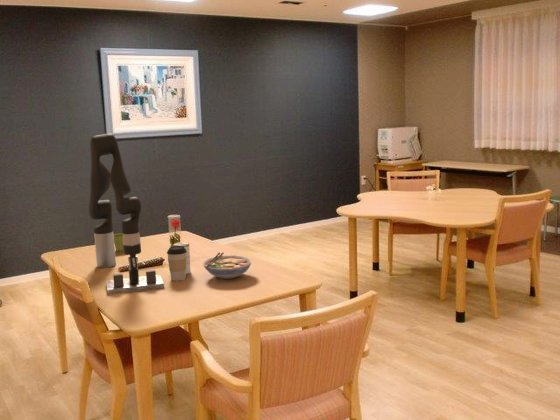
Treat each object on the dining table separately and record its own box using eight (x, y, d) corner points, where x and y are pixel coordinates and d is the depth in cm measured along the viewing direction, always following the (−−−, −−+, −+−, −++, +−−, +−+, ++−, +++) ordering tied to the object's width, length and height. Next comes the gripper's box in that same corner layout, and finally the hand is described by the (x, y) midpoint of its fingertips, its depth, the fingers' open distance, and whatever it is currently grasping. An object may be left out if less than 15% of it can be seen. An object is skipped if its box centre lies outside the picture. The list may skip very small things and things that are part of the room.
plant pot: (112, 249, 331) (111, 234, 329) (129, 247, 333) (128, 232, 332) (113, 253, 322) (111, 237, 320) (131, 251, 325) (129, 236, 323)
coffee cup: (169, 282, 269) (167, 250, 266) (167, 276, 277) (165, 245, 274) (189, 279, 271) (187, 248, 268) (187, 274, 280) (185, 243, 277)
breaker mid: (129, 279, 267) (128, 267, 265) (138, 278, 268) (137, 266, 267) (129, 280, 264) (128, 268, 263) (138, 279, 265) (138, 267, 264)
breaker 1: (113, 285, 259) (113, 274, 258) (123, 284, 260) (122, 273, 259) (114, 286, 256) (113, 275, 256) (123, 285, 258) (122, 274, 257)
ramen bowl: (245, 286, 260) (244, 268, 258) (195, 284, 264) (194, 266, 263) (258, 270, 284) (257, 253, 282) (212, 268, 288) (212, 252, 287)
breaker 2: (146, 281, 263) (145, 270, 262) (155, 280, 264) (154, 269, 263) (147, 282, 261) (146, 272, 260) (156, 281, 262) (155, 271, 261)
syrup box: (174, 274, 280) (172, 244, 278) (181, 270, 286) (179, 241, 283) (183, 275, 278) (182, 245, 275) (191, 272, 283) (189, 242, 280)
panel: (106, 285, 267) (106, 280, 266) (160, 278, 274) (160, 274, 273) (107, 294, 253) (107, 290, 253) (164, 287, 261) (163, 283, 260)
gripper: (122, 240, 264) (125, 278, 267) (123, 246, 252) (126, 286, 255) (139, 238, 266) (142, 276, 269) (141, 245, 254) (144, 283, 257)
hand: (134, 280), depth 262 cm, fingers closed
